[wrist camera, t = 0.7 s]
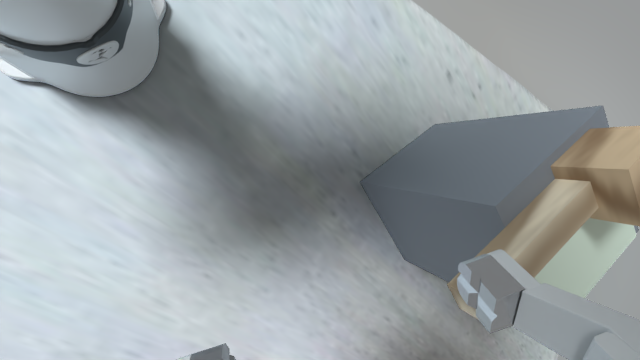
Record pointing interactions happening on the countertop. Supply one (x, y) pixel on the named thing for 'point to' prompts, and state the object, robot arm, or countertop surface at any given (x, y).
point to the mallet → (574, 200)
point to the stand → (489, 194)
